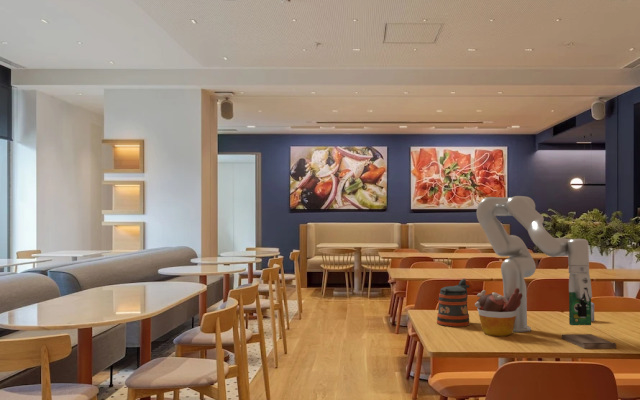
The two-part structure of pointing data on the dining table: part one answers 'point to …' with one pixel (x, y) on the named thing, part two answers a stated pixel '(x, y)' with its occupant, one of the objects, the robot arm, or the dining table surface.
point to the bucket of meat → (498, 312)
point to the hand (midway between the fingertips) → (580, 315)
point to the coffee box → (573, 311)
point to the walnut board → (588, 341)
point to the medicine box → (592, 311)
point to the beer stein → (453, 306)
